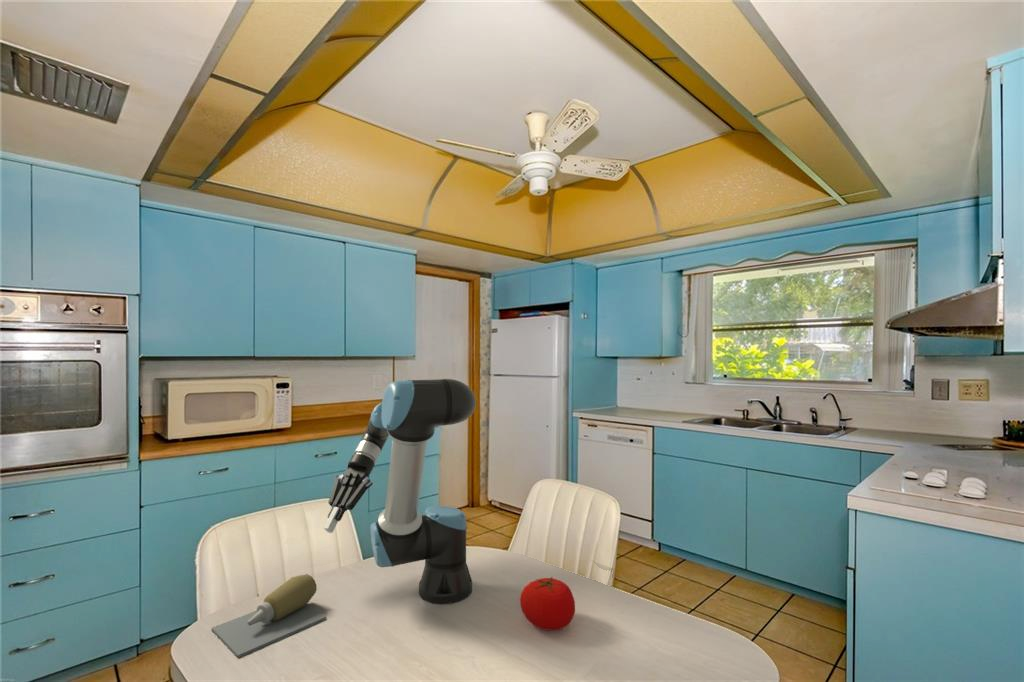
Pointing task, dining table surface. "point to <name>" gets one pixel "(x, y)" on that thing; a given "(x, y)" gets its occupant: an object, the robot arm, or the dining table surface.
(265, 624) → the rubber mat
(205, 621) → the dining table surface
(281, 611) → the squeeze bottle
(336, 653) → the dining table surface
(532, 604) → the tomato
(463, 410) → the robot arm
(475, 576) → the dining table surface
